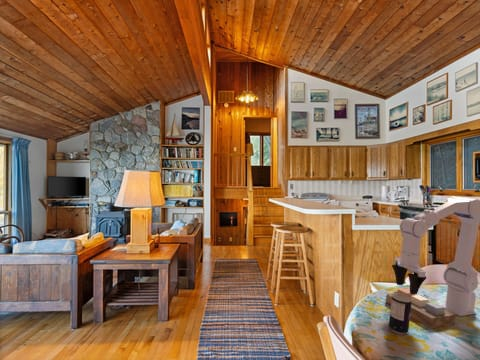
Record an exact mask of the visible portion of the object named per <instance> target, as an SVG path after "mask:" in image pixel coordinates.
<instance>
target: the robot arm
mask: <svg viewBox="0 0 480 360" xmlns="http://www.w3.org/2000/svg"><path fill="white" fill-rule="evenodd" d="M452 214H453V216H455V217H457V218H458V219H459V221H460V222H461V225H460V230H459V235H458V241H457V244H456V246H457V247H456V251H455V255H454V261H452V262H449V263H447V265H446V268H445V269H444V271H443V280H444V282H445V285H447V289H446V297H445V298H446V300H445V304H440V305H441V306H443V307H445V309H446V310H448V311H450V312H452V313H454V314H456V316H459V317H463V316H471V315H477V312H476V311H475V307H476V306H475V305H476V299H477V298H476V297H477V296H476V293H475V290H476V289H477V288H478V285H479V280H478V277H479V276H478V274H479V272H478V271H477V270H476V269H475V268H474V266H472V264H473V263H472V262H473V257H474V252H475V247H476V241H477V238H478V234H479V226H480V199H479V198H478V199H477V198H468V197H467V198H466V197H458V196H455V195H454V196H453V195H452V196H451V197H449V198H447V199H446V202H444V203H443V204H442V205H440V206H437V208H435V209H433V210H431V209H424V210H423V212H421V213H419V214H416V215H414V216H413V217H411V218H410V217H406V218H404V219H403V220H401V222H400V224H399V230H400V232H401V238H402V240H401V241H402V242H401V249H400V257H394V259H393V263H394V264H391V268H392V269H393V272H394V275H395V282H396V285H397V286H403V285H404V283H405V279H406V275H407V276H408V280H409V290H410V293H411V294H415V295H418V292H419V290H420V288H421V286H422V284H423V282H425V281H426V280H427V276H426V270H424V269H422V268H421V267H420V266H419V262H420V253H421V252H420V251H421V242H422V237H424V236H425V234H426V232H427V231H429V229H431V228H432V227H434V226H436V225H438V224H439V223H440V219H442V218H445V217H447V216H450V215H452ZM408 271H410V272H412V273H407V272H408Z"/></svg>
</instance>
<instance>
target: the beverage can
mask: <svg viewBox="0 0 480 360" xmlns="http://www.w3.org/2000/svg"><path fill="white" fill-rule="evenodd" d="M393 293H394V294H393V295H392V300H391V305H390V313H389V321H388V327H389V328H390V329H391V331H392V332H393V333H395V334H398V335H405V334H406V333H408V332H409V330H410V319H411V317H410V312H411V303H412V301H411V297H410V296H409V295H408V294H405V293H402V292H398V291H394V292H393Z"/></svg>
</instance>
